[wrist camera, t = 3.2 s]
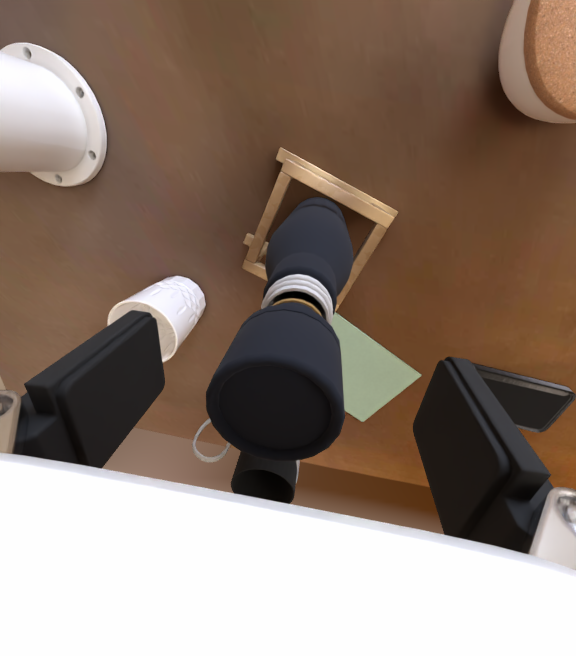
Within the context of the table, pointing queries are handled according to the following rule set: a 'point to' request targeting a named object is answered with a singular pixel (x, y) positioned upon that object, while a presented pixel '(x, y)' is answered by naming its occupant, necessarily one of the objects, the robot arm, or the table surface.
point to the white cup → (167, 310)
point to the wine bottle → (289, 345)
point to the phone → (527, 398)
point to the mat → (368, 371)
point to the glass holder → (259, 475)
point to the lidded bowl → (540, 59)
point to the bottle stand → (331, 189)
